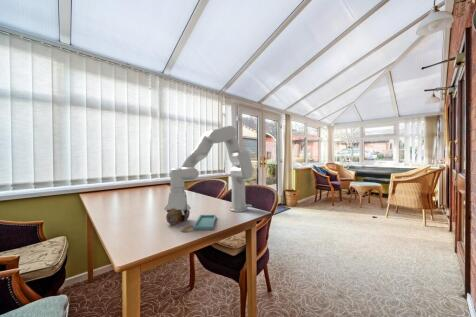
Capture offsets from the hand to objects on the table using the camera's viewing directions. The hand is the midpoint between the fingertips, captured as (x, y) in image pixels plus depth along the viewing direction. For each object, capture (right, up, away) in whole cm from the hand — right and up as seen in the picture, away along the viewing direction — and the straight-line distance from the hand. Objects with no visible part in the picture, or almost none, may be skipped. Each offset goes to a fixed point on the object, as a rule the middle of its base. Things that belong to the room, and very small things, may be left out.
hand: (177, 221), depth 117 cm
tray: (+16, -1, -2) cm, 16 cm away
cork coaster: (+8, -1, -11) cm, 14 cm away
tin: (0, -1, +1) cm, 1 cm away
